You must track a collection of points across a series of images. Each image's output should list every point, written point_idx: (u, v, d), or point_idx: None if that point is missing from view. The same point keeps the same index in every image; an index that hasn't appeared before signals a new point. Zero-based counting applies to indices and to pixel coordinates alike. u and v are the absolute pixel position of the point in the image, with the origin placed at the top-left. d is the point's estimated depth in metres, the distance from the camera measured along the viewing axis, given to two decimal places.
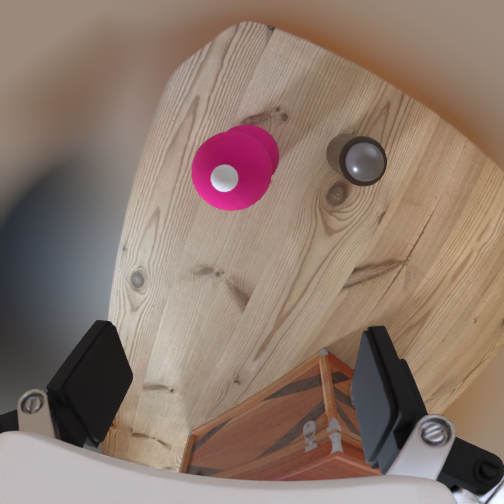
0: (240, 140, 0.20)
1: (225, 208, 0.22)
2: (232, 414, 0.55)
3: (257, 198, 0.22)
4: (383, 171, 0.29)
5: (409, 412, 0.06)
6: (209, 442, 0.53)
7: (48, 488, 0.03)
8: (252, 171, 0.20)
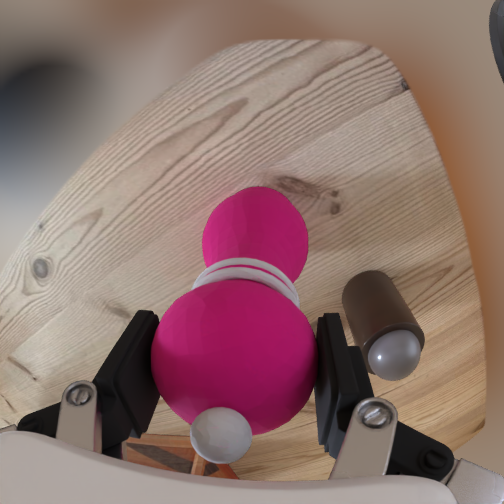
0: (297, 362, 0.08)
1: None
2: None
3: None
4: None
5: (348, 393, 0.07)
6: None
7: (48, 488, 0.03)
8: (275, 423, 0.09)
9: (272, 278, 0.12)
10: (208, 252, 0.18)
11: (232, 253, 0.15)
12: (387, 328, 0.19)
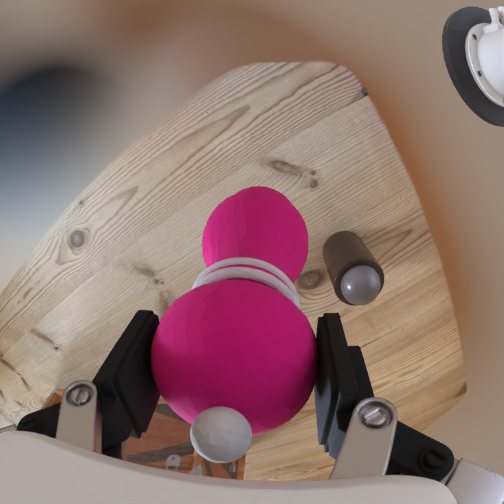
0: (297, 361, 0.08)
1: None
2: None
3: None
4: None
5: (348, 393, 0.07)
6: None
7: (48, 488, 0.03)
8: (275, 423, 0.09)
9: (272, 278, 0.12)
10: (208, 252, 0.18)
11: (232, 253, 0.15)
12: (352, 263, 0.28)
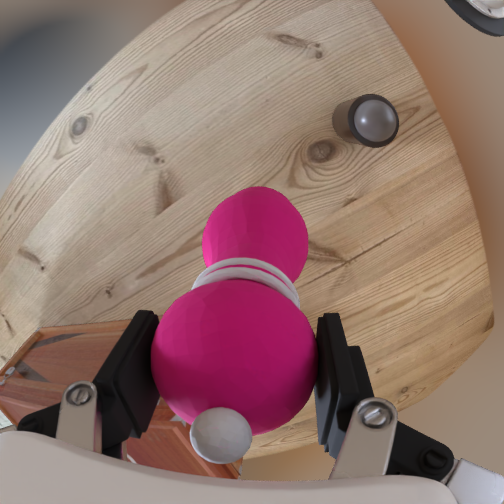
0: (297, 362, 0.08)
1: None
2: (87, 329, 0.46)
3: None
4: (387, 142, 0.25)
5: (348, 393, 0.07)
6: (50, 346, 0.43)
7: (48, 488, 0.03)
8: (275, 423, 0.09)
9: (272, 278, 0.12)
10: (208, 252, 0.18)
11: (232, 253, 0.15)
12: (363, 97, 0.24)
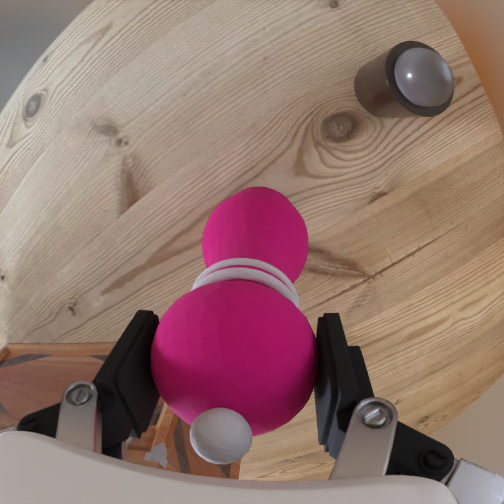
0: (297, 363, 0.08)
1: None
2: (53, 350, 0.36)
3: None
4: (440, 110, 0.15)
5: (348, 393, 0.07)
6: (15, 368, 0.33)
7: (48, 488, 0.03)
8: (275, 424, 0.09)
9: (272, 278, 0.12)
10: (208, 252, 0.18)
11: (232, 254, 0.15)
12: (406, 45, 0.14)
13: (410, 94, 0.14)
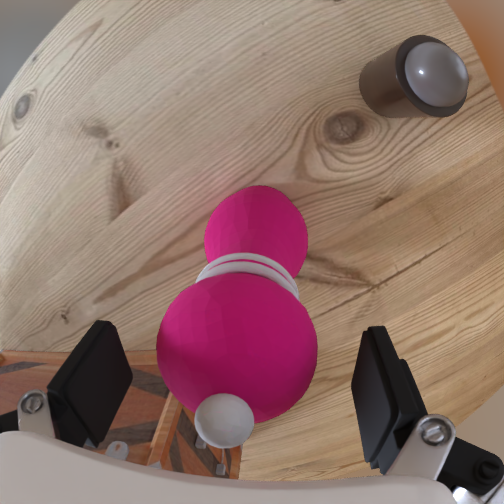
0: (297, 350, 0.09)
1: None
2: (47, 359, 0.34)
3: None
4: (453, 111, 0.13)
5: (409, 412, 0.06)
6: (9, 376, 0.31)
7: (48, 488, 0.03)
8: (276, 410, 0.09)
9: (273, 272, 0.12)
10: (210, 249, 0.18)
11: (234, 249, 0.15)
12: (417, 39, 0.12)
13: (422, 92, 0.13)
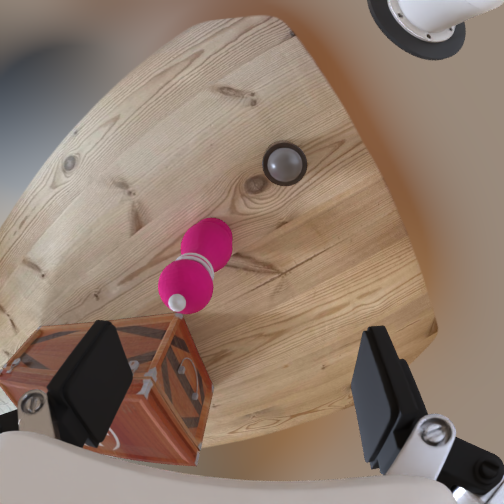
0: (200, 282, 0.30)
1: None
2: (80, 327, 0.55)
3: (190, 313, 0.32)
4: (296, 181, 0.35)
5: (409, 412, 0.06)
6: (50, 341, 0.52)
7: (48, 488, 0.03)
8: (195, 304, 0.30)
9: (200, 259, 0.34)
10: (182, 251, 0.40)
11: (190, 251, 0.37)
12: (276, 146, 0.34)
13: (273, 177, 0.34)
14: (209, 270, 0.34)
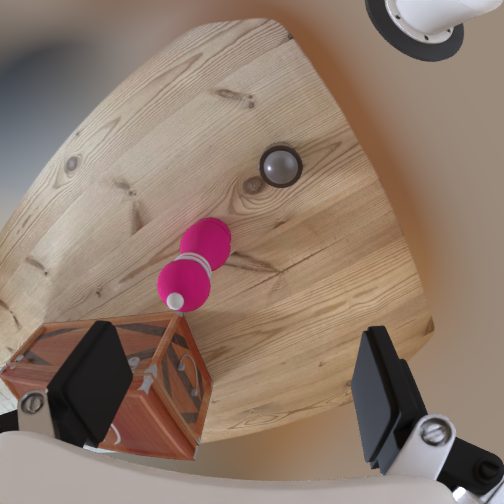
0: (197, 281, 0.31)
1: (168, 306, 0.33)
2: (83, 324, 0.57)
3: (188, 311, 0.33)
4: (292, 183, 0.36)
5: (409, 412, 0.06)
6: (53, 338, 0.54)
7: (48, 488, 0.03)
8: (192, 302, 0.32)
9: (197, 259, 0.35)
10: (181, 251, 0.41)
11: (188, 251, 0.38)
12: (272, 149, 0.34)
13: (269, 179, 0.35)
14: (207, 269, 0.35)
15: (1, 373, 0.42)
